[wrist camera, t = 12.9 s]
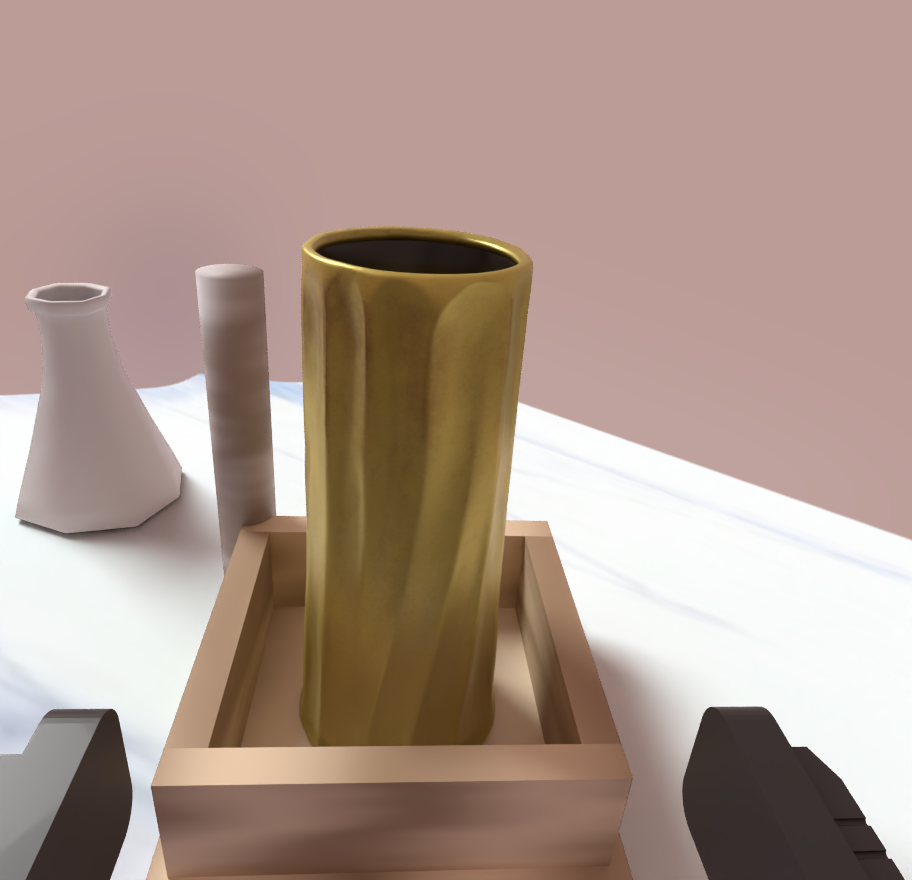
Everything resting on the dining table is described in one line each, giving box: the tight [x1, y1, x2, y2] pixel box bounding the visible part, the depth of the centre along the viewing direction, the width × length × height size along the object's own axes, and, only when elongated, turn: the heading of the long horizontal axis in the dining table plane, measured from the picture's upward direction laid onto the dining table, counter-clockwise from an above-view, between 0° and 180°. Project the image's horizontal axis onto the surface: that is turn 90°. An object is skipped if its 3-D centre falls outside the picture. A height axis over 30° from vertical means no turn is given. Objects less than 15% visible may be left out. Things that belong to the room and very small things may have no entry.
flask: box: [15, 283, 182, 533], centre depth 32 cm, size 7×7×10 cm
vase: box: [299, 226, 533, 747], centre depth 19 cm, size 6×6×14 cm
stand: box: [146, 264, 633, 880], centre depth 21 cm, size 12×13×13 cm
